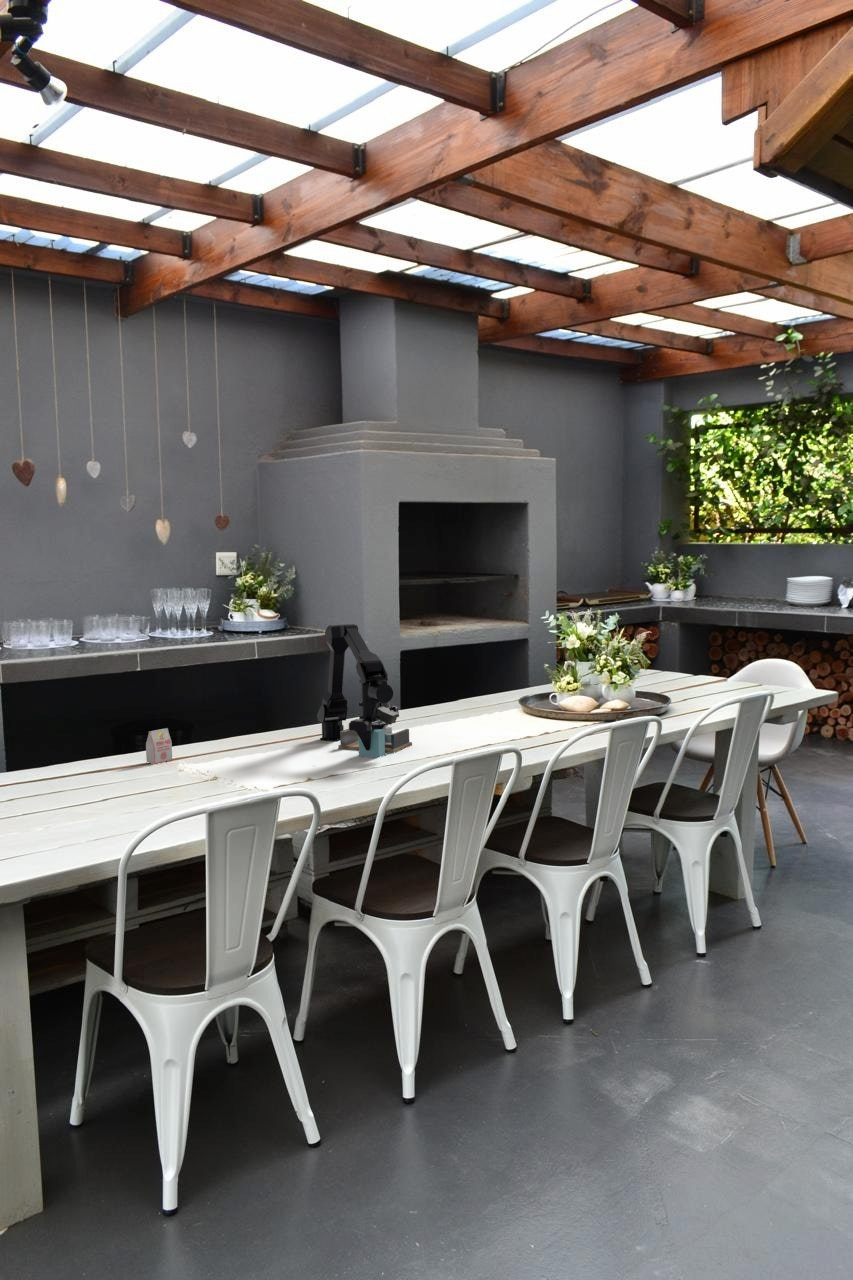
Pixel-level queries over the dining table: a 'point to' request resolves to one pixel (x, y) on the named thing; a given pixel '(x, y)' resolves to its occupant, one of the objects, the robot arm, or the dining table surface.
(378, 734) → the workpiece block
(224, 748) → the dining table surface
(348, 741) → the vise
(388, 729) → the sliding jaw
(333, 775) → the dining table surface
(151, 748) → the white cardboard carton
